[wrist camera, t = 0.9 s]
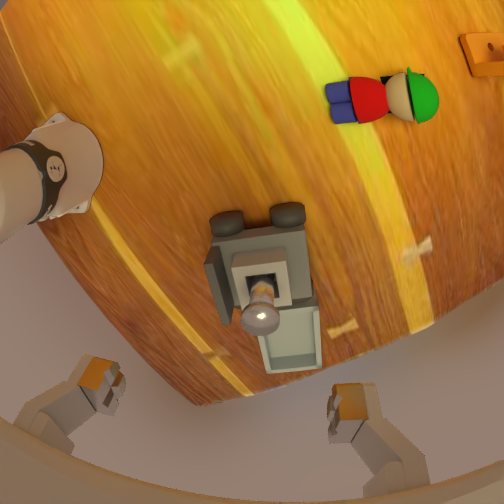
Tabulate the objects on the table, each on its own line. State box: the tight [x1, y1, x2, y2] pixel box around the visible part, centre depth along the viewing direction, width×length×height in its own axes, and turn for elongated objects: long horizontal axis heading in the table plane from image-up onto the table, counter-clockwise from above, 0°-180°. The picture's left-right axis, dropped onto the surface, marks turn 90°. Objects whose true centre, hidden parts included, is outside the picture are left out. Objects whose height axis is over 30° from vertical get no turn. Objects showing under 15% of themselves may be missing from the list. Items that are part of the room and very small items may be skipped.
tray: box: [258, 290, 322, 374], centre depth 54 cm, size 11×16×4 cm
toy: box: [326, 67, 439, 124], centre depth 33 cm, size 8×8×15 cm
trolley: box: [204, 202, 314, 325], centre depth 44 cm, size 16×15×12 cm
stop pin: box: [241, 273, 280, 336], centre depth 38 cm, size 4×4×11 cm
